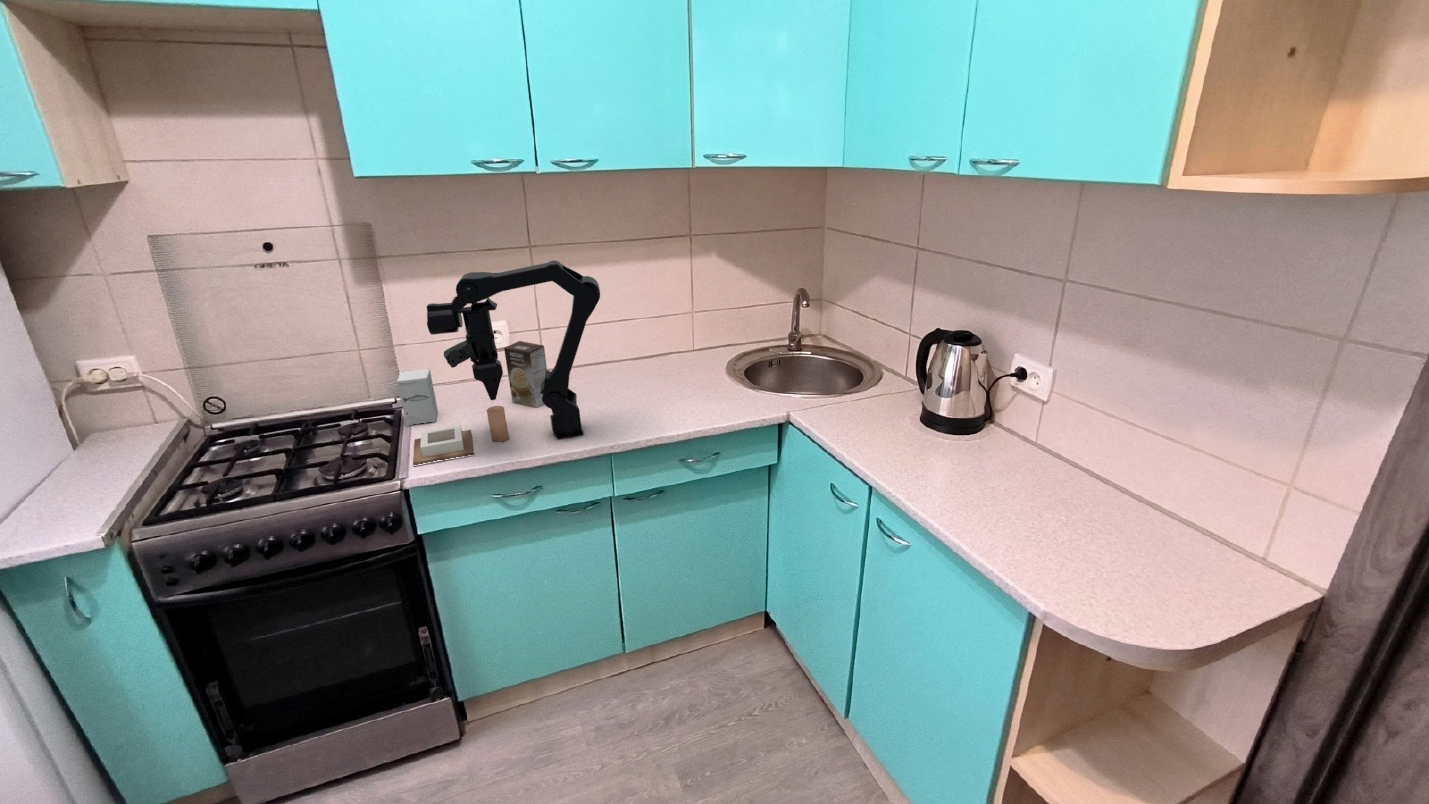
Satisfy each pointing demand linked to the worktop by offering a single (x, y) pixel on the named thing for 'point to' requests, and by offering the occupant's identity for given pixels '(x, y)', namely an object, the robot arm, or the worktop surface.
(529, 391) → the coffee box
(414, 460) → the board
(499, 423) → the terracotta pin
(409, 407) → the supplement box
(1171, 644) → the worktop surface
